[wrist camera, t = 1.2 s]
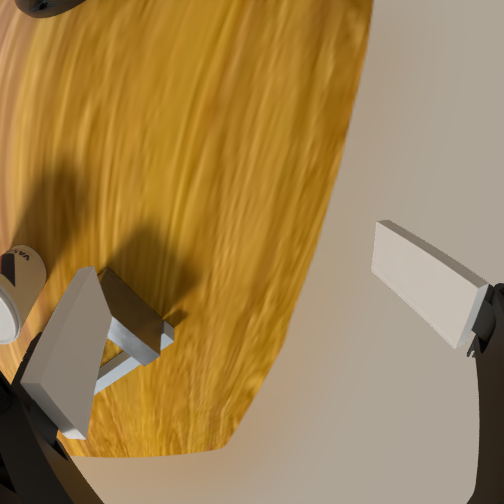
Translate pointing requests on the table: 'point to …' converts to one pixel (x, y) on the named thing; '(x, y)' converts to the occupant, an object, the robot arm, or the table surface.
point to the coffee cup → (18, 288)
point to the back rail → (127, 361)
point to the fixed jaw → (131, 320)
